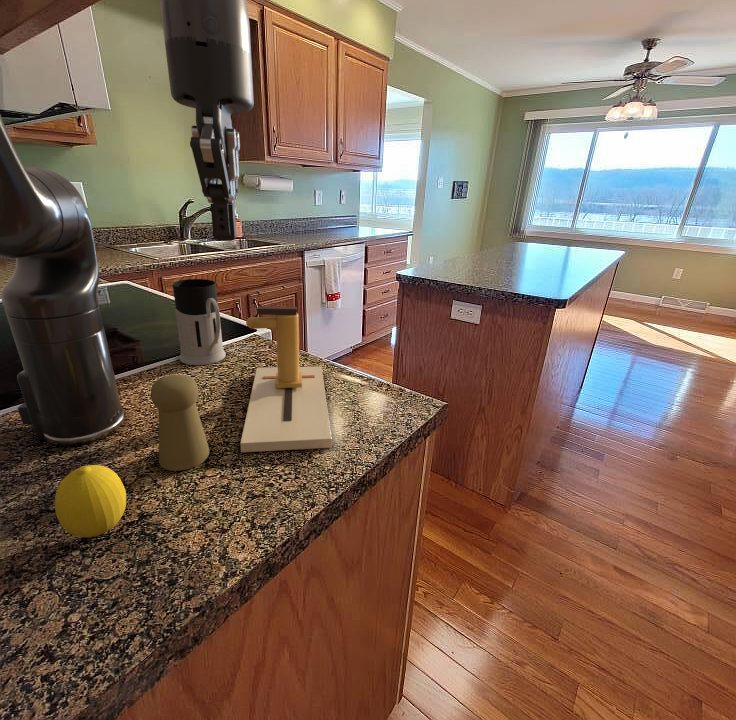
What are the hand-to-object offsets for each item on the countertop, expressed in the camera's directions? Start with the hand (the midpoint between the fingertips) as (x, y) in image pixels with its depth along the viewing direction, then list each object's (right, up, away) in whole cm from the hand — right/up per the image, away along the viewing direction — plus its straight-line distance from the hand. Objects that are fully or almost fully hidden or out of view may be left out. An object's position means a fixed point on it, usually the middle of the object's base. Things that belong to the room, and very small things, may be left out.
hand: (225, 239), depth 44 cm
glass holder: (-16, -14, +35) cm, 41 cm away
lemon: (-11, -31, -4) cm, 33 cm away
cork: (-8, -26, +8) cm, 28 cm away
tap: (0, -17, +24) cm, 30 cm away
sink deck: (+3, -21, +21) cm, 29 cm away
